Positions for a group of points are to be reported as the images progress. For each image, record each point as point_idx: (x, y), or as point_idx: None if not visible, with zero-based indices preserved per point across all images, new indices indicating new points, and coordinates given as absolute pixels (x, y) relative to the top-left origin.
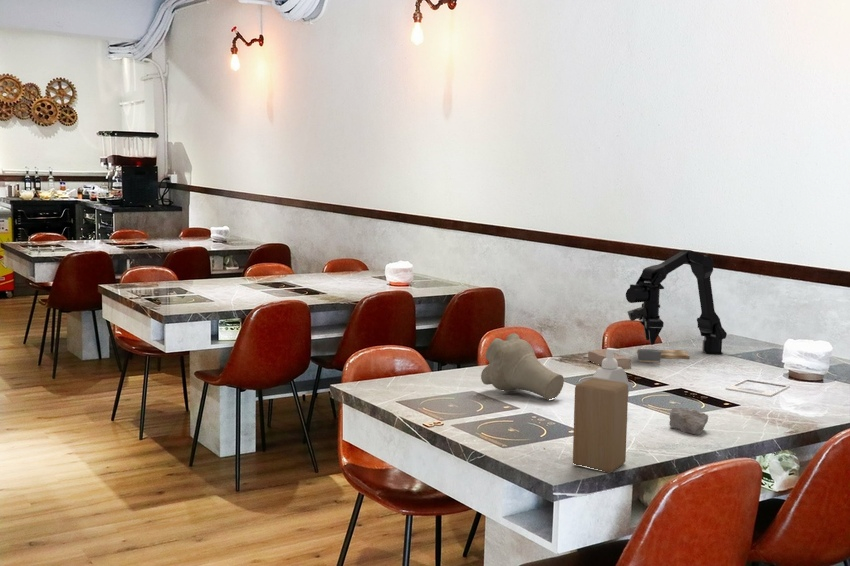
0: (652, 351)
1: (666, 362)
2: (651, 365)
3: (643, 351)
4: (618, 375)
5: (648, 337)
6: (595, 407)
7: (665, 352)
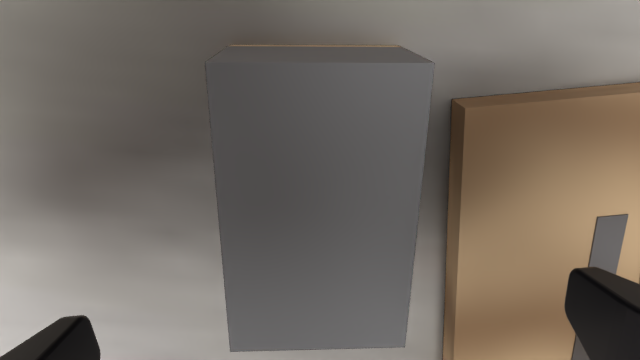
0: (257, 262)
1: None
2: (26, 178)
3: (222, 138)
4: None
5: (599, 337)
6: None
7: None
